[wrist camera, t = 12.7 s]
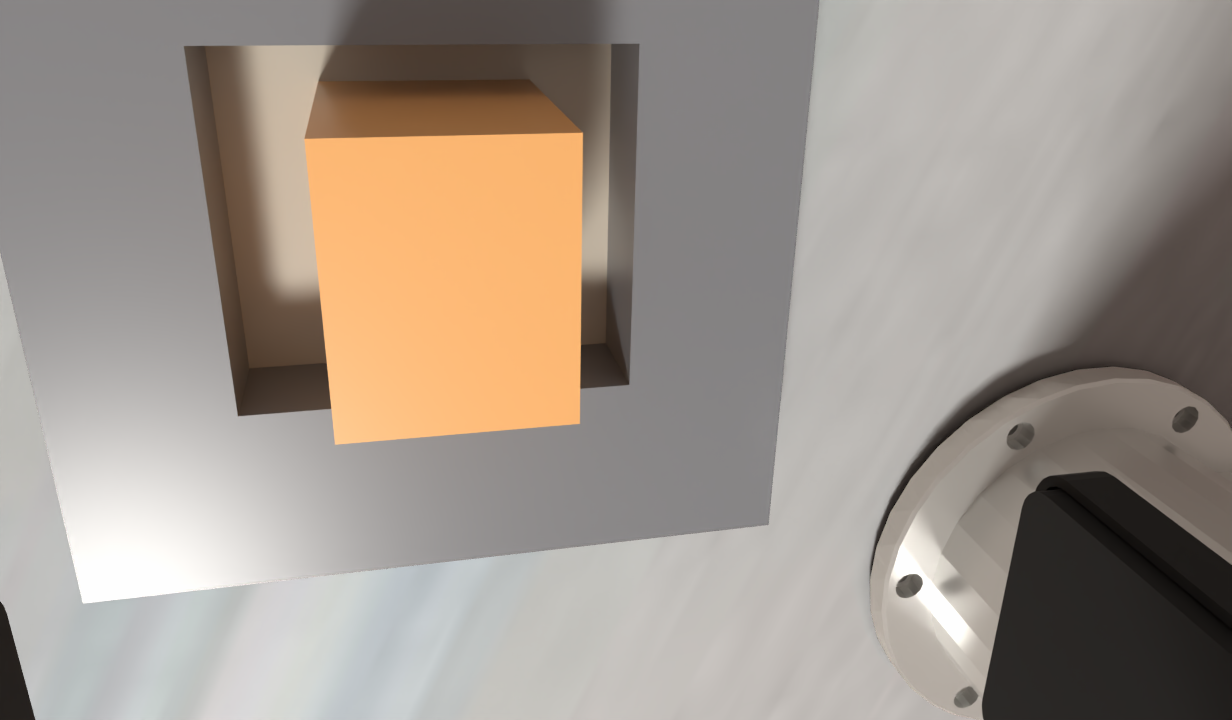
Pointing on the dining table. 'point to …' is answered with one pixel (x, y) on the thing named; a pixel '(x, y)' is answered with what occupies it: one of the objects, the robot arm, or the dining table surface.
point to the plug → (446, 256)
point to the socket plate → (290, 297)
